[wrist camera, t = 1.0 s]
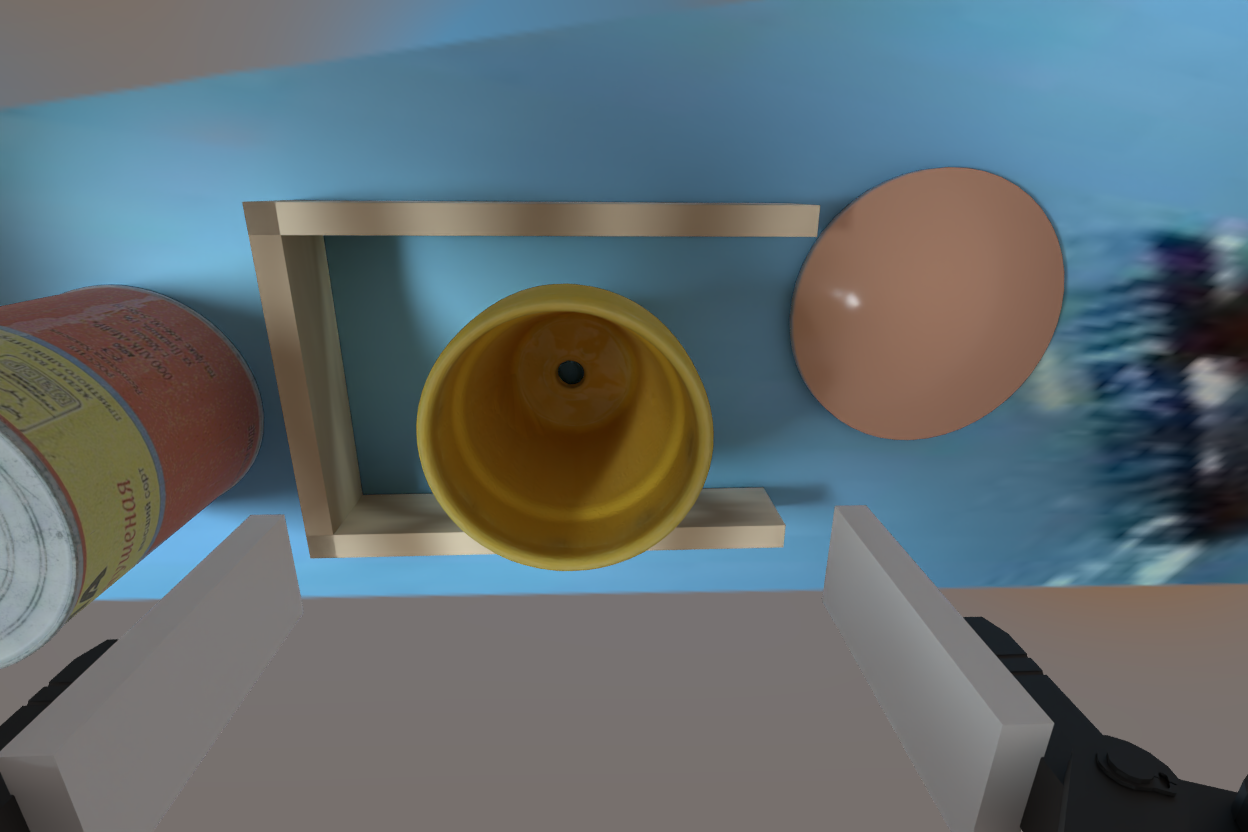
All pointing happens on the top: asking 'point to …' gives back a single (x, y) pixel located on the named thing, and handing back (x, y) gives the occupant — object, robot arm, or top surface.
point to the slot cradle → (317, 379)
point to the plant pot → (565, 429)
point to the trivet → (926, 302)
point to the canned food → (107, 444)
